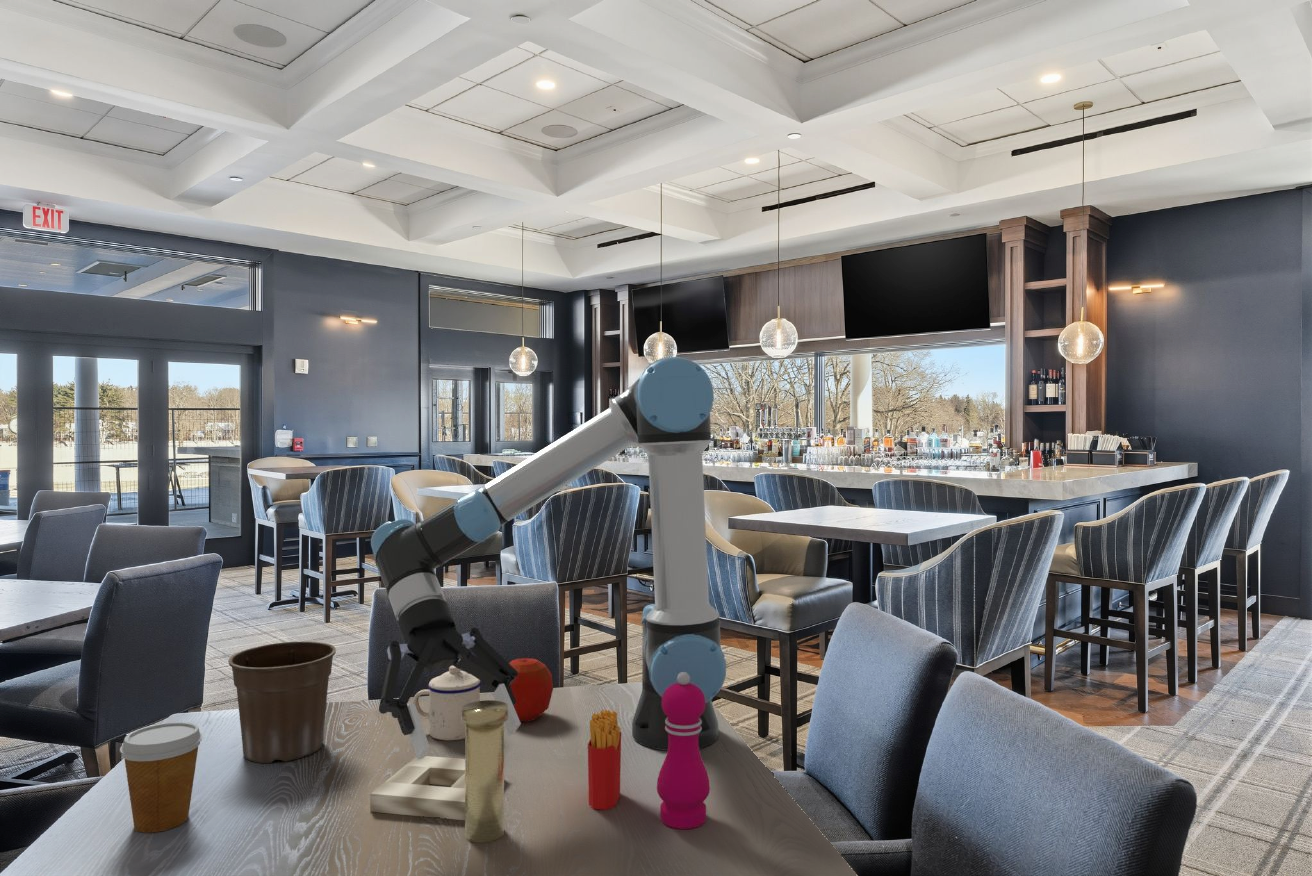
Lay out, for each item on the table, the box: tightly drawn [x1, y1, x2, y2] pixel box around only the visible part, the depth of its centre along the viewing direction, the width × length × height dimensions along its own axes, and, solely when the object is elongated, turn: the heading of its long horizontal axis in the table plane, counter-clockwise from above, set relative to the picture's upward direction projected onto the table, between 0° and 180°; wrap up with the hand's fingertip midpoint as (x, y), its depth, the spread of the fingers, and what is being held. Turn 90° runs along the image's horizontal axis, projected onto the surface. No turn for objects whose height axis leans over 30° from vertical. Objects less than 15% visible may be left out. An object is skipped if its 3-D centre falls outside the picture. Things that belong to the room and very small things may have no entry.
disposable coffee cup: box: [119, 721, 203, 834], centre depth 110 cm, size 10×10×12 cm
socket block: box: [369, 755, 465, 821], centre depth 119 cm, size 14×14×2 cm
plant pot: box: [227, 641, 337, 764], centre depth 135 cm, size 16×16×16 cm
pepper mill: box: [656, 672, 711, 830], centre depth 111 cm, size 7×7×20 cm
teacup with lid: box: [412, 665, 482, 741], centre depth 144 cm, size 12×9×12 cm
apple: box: [508, 655, 554, 723], centre depth 152 cm, size 10×10×12 cm
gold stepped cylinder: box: [461, 699, 508, 844], centre depth 107 cm, size 6×6×16 cm
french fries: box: [587, 709, 622, 811], centre depth 117 cm, size 8×4×12 cm, turn 170°
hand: (471, 741), depth 109 cm, fingers open, 13 cm apart
